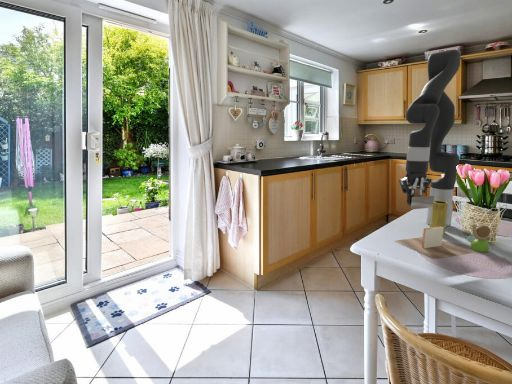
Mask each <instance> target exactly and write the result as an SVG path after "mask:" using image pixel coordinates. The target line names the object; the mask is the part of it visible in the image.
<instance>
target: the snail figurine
mask: <svg viewBox="0 0 512 384" xmlns="http://www.w3.org/2000/svg"><path fill="white" fill-rule="evenodd" d="M471 222H472V224H471V227H472V229H471V230H472V235H474V237H475V238H477V239H475V240H473V241H472V242H471V243H470V248H471V250H472V251H475V252H479V253H488V252H489V251H490V248H491V247H490V244H489V242H488V241H487V239H488V238H490V234H491V229H490V227H488V226H487V225H480V226H478V227H477V224H476V221H474V220H472V221H471ZM476 229H477V230H476Z"/></svg>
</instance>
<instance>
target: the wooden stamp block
mask: <svg viewBox="0 0 512 384" xmlns="http://www.w3.org/2000/svg"><path fill="white" fill-rule="evenodd" d="M410 192H411V190H410ZM413 196H414V197H412V201H411V205H409V204H407V206H410V210H419V209H420V210H421V209H422V210H423V209H428V208H433V202H434V196H430V195H427V196H426V195H423V196H422V195H421V197H419V196H420V188H416V189H415V190H414V195H413Z"/></svg>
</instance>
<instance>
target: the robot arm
mask: <svg viewBox="0 0 512 384" xmlns="http://www.w3.org/2000/svg"><path fill="white" fill-rule="evenodd" d="M460 66H461V53H460V51H459V50H458V49H449V50H444V51H438V52H432V53H431V54H430V55H429V56H428V58H427V78H428V82H427V83H426V84H425V85H424V87H423V88H422V90H421V92H420V95H419V96H418V97H417V98H416V99H415V100H413V102H411V104H410V105H409V107H407V110H406V113H405V118H406V121H407V123H409V124H412V125H423V124H424V126H423V128H421V129H418V130H413V131H411V132H410V133H409V138H408V139H409V141H408V148H407V154H406V164H405V171H406V174H405V177H404V178H400V179H399V180H398V181H399V185H400V188H401V191H402V193H403V194H406V203H407V204H409V205H411V201H412V197H414V196H413V195H414V190H415V189H416V188H420V196H419V197H422V195H423V194H425V193H427V191H428V188H429V187H430V188H429V189H430V190H429V196H434V201H444V202H448V208H447V216H446V227H449V226H451V224H452V218H453V210H454V205H453V200H454V191H455V190H454V189H455V186H456V185H455V184H456V182H457V177H456V166H457V165H460V157H459V154H457V153H456V152H448V151H447V152H446V151H444V152H443V151H442V147H443V142H444V139H445V138H446V137H447V135H448V134H449V132H450V130H451V129H452V127H453V126H454V124H455V120H456V119H455V117H456V114H455V113H456V109H455V104H454V103H453V101H452V99H451V98H450V97H449V95H447V93H446V92H445V89H446V88H447V86H448V85H449V84H450V82H451V81H452V79H453V78H454V77H455V76H456V74H457V73H458V71H459V68H460ZM429 170H430V171H431V172H433V173H439V174H441V173H442V174H443V177H441V178H439V179H434V180H432V178H429V177H427V173H428V172H429ZM410 190H411V192H410ZM409 205H408V206H409ZM431 215H432V208H427V215H426V224H427V225H429V226H430V222H431Z"/></svg>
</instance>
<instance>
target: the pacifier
mask: <svg viewBox="0 0 512 384" xmlns="http://www.w3.org/2000/svg"><path fill="white" fill-rule="evenodd" d="M476 230H477V228H476ZM465 239H466V240H467V241H468V242H471V243H472V241H473V240H475V239H477V238H475V237H474V235H473V234H472V235H467V236H466V238H465Z"/></svg>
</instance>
